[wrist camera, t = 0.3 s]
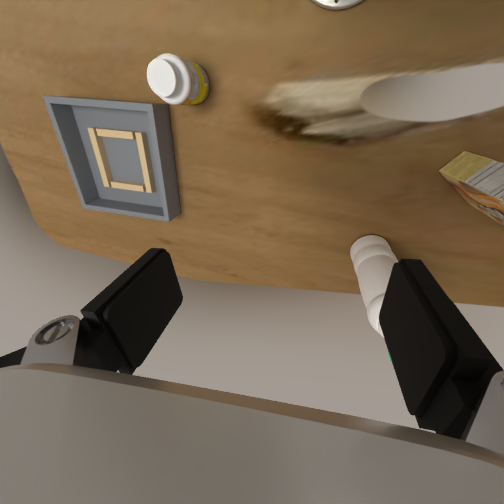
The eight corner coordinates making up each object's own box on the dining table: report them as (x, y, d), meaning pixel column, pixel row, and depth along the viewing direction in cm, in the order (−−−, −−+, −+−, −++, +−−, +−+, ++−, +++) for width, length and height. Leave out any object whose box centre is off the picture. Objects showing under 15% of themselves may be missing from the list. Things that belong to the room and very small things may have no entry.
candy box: (498, 187, 36) (601, 230, 23) (469, 206, 38) (548, 255, 26) (463, 149, 34) (553, 173, 22) (435, 171, 37) (501, 205, 24)
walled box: (68, 96, 42) (42, 95, 38) (168, 104, 40) (152, 104, 35) (100, 200, 53) (83, 208, 49) (180, 212, 50) (169, 221, 46)
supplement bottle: (174, 93, 39) (136, 88, 30) (184, 54, 35) (145, 37, 27) (203, 112, 39) (174, 113, 31) (216, 75, 36) (187, 66, 28)
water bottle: (381, 227, 43) (448, 338, 22) (393, 256, 46) (462, 380, 25) (344, 242, 46) (372, 351, 25) (356, 268, 49) (391, 387, 28)
